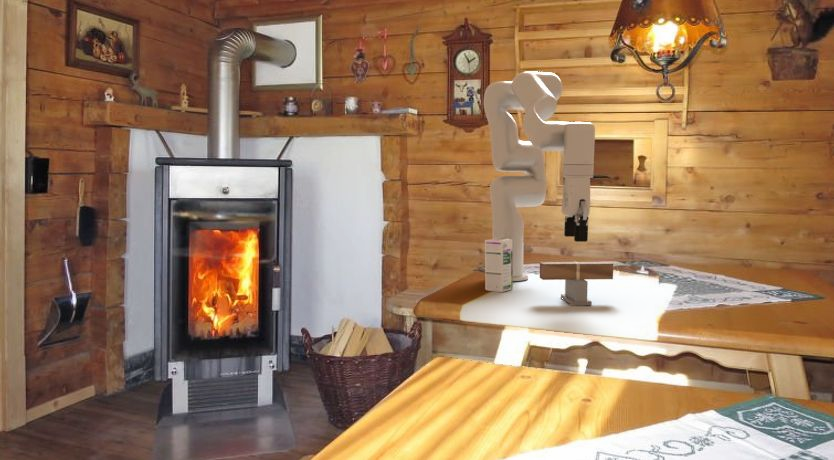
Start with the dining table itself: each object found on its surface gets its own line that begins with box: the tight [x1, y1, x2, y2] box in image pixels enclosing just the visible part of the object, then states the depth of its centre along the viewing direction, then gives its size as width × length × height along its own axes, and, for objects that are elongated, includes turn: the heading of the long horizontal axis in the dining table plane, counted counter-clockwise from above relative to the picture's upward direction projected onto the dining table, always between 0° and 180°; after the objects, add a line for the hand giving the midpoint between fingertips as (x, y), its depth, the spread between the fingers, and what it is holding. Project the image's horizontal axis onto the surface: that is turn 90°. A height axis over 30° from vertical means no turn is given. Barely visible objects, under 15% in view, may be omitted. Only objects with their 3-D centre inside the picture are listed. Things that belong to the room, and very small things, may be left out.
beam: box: [539, 261, 614, 281], centre depth 181 cm, size 4×18×4 cm, turn 93°
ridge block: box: [560, 279, 593, 306], centre depth 181 cm, size 11×5×6 cm, turn 3°
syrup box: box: [484, 238, 514, 293], centre depth 198 cm, size 6×6×14 cm
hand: (575, 238), depth 181 cm, fingers open, 9 cm apart
